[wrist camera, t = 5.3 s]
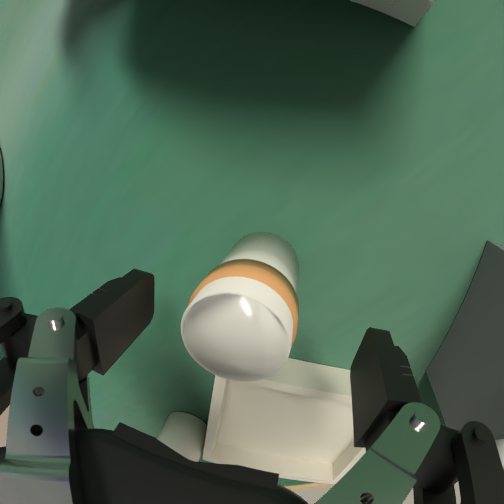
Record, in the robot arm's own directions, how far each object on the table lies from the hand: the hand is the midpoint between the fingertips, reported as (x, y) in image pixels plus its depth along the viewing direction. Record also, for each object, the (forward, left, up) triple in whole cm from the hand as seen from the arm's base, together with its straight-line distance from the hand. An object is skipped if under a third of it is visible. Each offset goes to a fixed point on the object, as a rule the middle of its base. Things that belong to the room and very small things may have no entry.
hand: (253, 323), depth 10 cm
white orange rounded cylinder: (-1, -1, -7) cm, 7 cm away
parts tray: (+5, -13, -6) cm, 15 cm away
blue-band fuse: (-4, -18, -6) cm, 19 cm away
